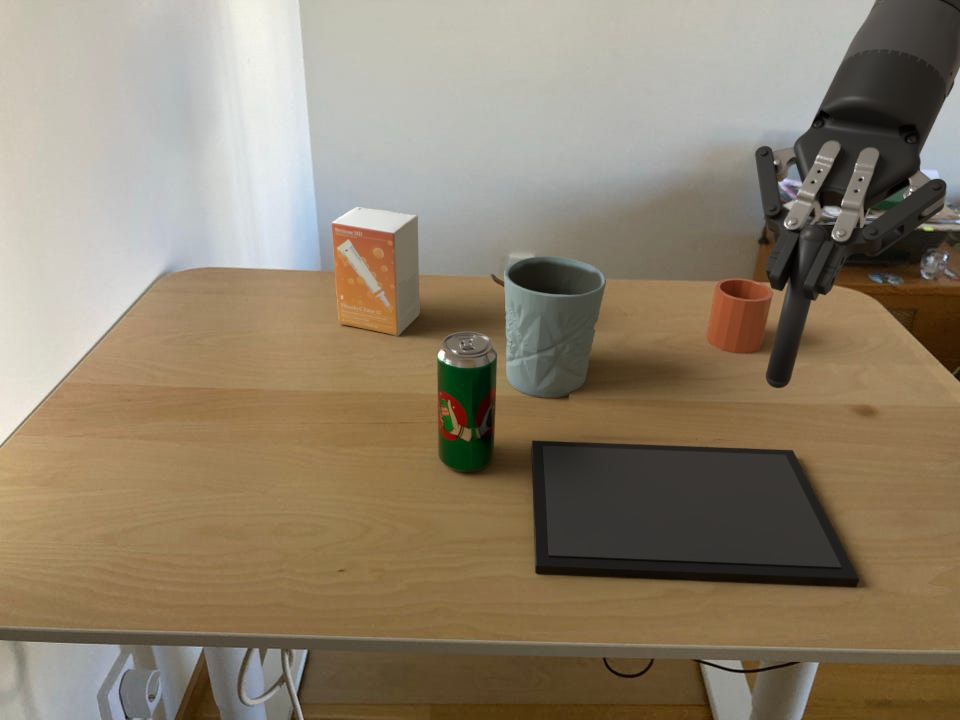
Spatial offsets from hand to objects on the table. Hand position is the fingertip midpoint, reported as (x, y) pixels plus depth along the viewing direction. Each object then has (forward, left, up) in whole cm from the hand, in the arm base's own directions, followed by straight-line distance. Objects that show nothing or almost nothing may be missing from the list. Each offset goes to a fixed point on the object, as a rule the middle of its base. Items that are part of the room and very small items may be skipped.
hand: (792, 289), depth 54 cm
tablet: (+5, -1, -21) cm, 22 cm away
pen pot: (-7, -31, -21) cm, 38 cm away
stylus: (-1, -2, -9) cm, 9 cm away
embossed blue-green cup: (+15, -22, -21) cm, 34 cm away
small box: (+35, -34, -21) cm, 53 cm away
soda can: (+23, -7, -21) cm, 32 cm away
